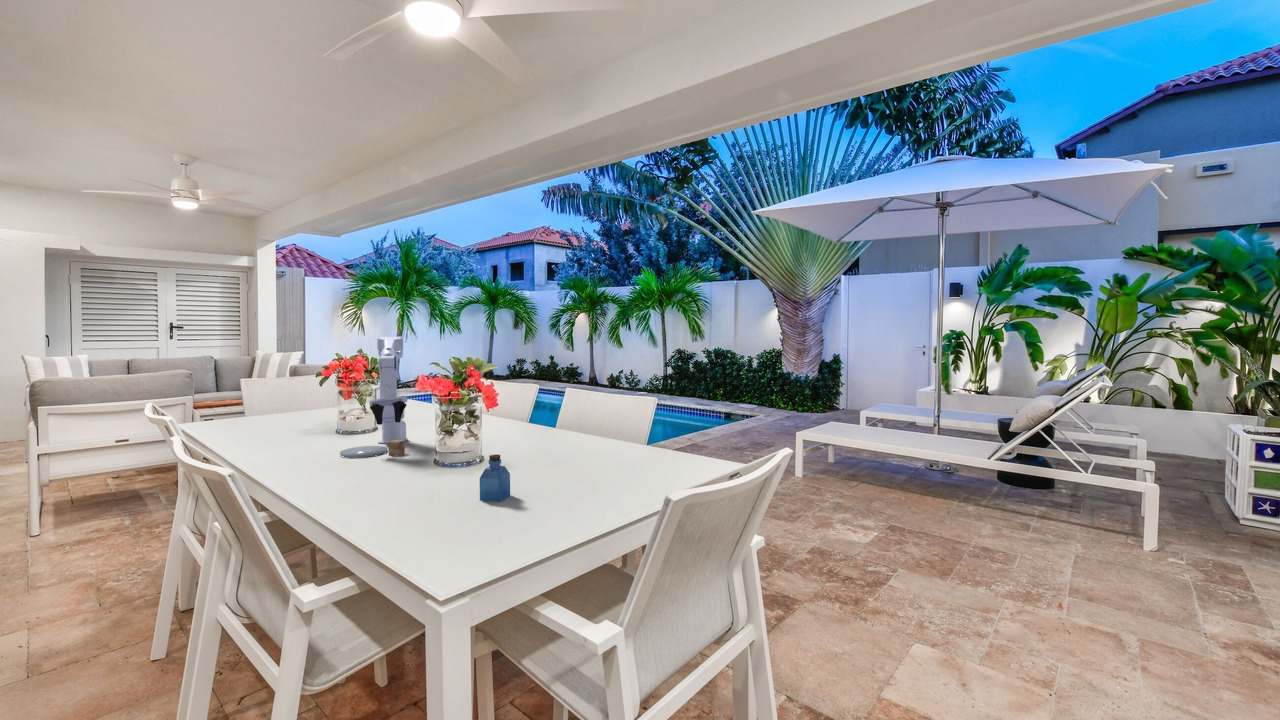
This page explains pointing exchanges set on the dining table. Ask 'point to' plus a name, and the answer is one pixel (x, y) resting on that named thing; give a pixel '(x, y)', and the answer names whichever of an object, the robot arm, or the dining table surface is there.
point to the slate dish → (363, 451)
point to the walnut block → (396, 447)
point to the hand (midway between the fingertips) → (388, 423)
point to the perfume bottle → (495, 481)
